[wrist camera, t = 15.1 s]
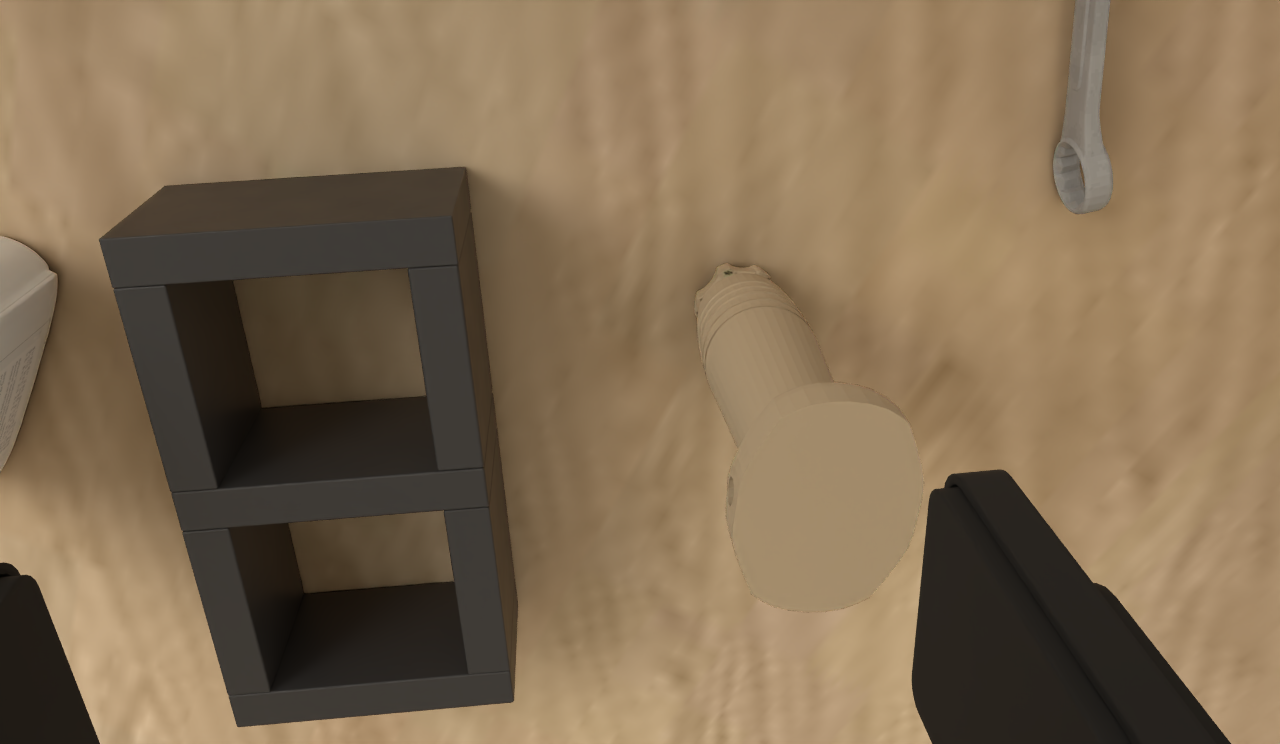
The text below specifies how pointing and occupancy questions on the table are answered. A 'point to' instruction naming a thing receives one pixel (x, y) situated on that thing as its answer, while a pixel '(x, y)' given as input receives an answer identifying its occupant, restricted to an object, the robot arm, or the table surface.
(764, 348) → the handle
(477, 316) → the holder
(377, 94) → the table surface
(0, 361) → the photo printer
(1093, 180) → the combination wrench
